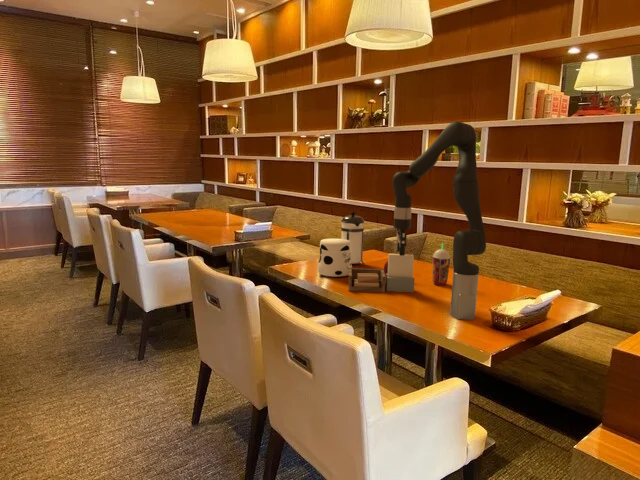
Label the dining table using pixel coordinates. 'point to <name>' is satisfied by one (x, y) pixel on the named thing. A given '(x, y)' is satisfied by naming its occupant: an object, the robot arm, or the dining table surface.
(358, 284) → the offcut large
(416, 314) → the dining table surface
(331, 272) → the milk container
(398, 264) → the cream rectangular board
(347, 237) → the coffee press
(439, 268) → the smoothie
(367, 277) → the offcut small
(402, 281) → the holder
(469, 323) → the dining table surface
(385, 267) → the apple
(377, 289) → the box
